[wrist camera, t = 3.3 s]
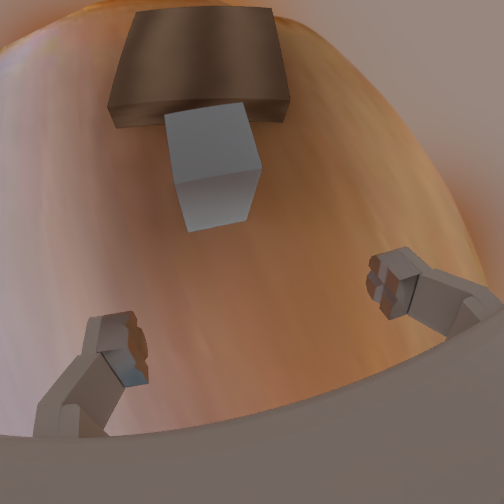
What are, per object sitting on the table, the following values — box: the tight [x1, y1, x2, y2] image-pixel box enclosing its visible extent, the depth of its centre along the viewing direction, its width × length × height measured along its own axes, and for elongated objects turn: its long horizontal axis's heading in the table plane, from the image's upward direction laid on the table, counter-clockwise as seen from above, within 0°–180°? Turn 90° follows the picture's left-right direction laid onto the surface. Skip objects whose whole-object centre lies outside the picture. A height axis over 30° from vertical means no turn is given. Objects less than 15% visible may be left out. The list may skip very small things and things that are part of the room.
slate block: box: [164, 102, 262, 233], centre depth 18 cm, size 4×4×8 cm
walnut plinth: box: [107, 6, 290, 128], centre depth 24 cm, size 14×14×3 cm
